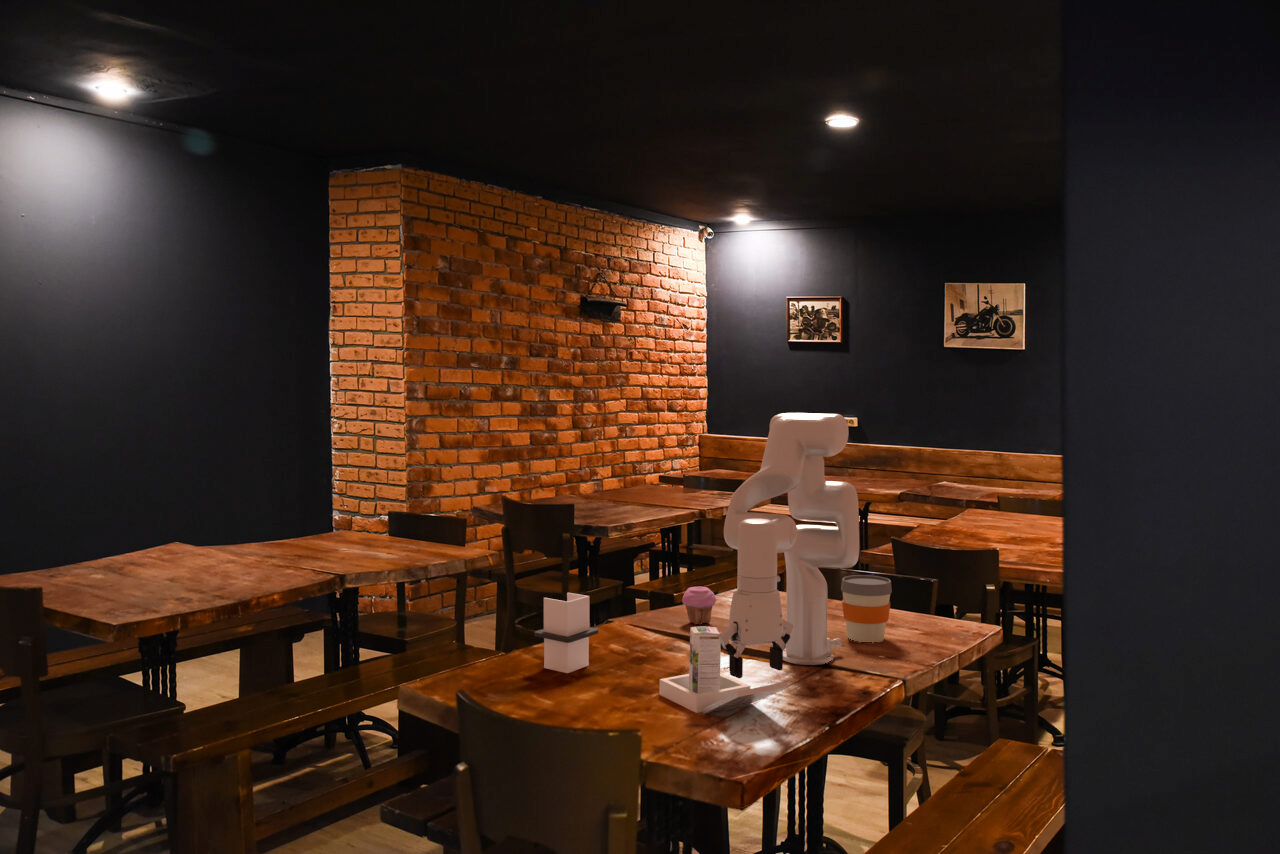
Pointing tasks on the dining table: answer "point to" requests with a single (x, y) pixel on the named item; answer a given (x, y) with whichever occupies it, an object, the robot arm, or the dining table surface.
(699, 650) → the syrup box
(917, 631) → the dining table surface
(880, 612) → the reusable coffee cup
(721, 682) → the white piece
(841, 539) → the robot arm
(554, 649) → the white flanged box
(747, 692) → the white square slab
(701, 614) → the cupcake
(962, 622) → the dining table surface
